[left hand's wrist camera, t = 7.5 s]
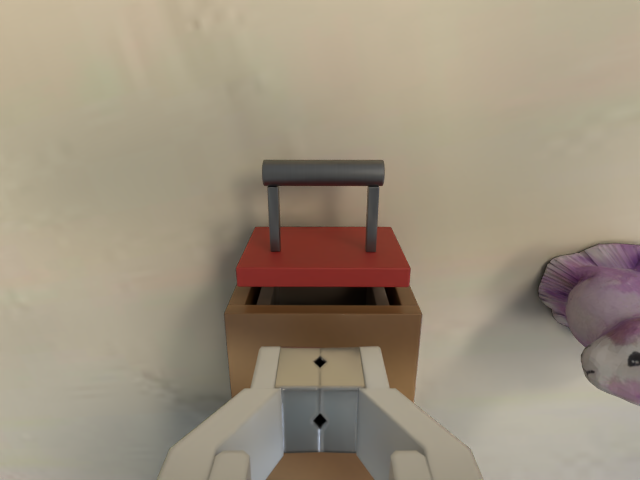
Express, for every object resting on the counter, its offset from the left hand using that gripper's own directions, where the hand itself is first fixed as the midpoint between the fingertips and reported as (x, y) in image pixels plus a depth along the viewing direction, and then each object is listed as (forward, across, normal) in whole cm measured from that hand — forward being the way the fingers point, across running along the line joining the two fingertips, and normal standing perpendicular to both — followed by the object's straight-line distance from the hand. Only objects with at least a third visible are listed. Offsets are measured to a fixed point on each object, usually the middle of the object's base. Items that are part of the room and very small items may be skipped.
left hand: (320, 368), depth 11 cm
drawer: (+19, 0, -8) cm, 21 cm away
